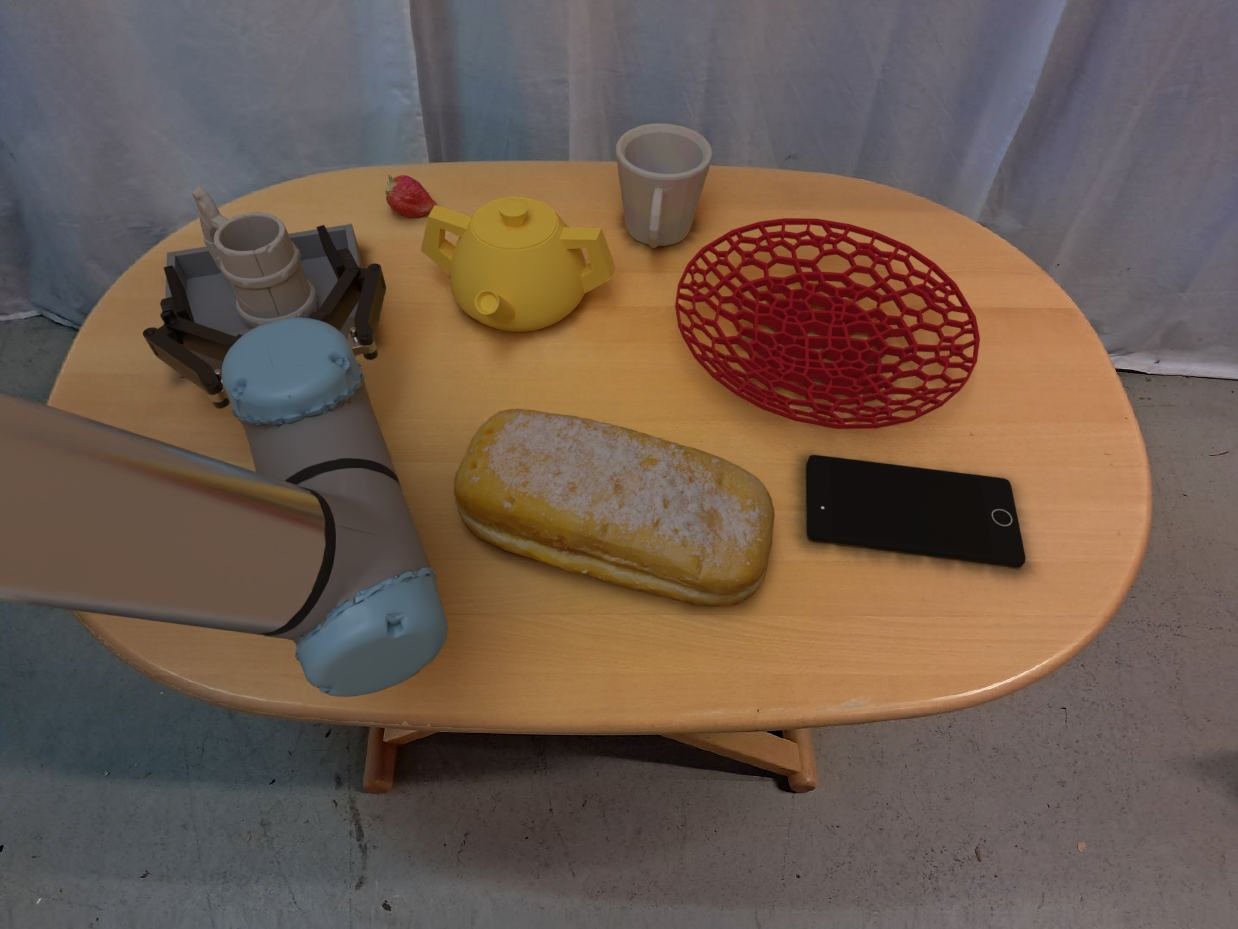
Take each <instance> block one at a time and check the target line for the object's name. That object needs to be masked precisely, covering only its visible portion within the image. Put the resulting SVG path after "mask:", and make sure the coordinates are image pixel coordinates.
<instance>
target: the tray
mask: <svg viewBox="0 0 1238 929" xmlns="http://www.w3.org/2000/svg"><path fill="white" fill-rule="evenodd" d="M326 229H327V231H328V233H329V236H330V238H331V240H332V242H333V244H334V246H335V248H336V250H341V249H345V248H347V249H348V250H350V252H351V254H352V256H353V258H354V260H355V262H356V264H357V266H359V267H360V268H363V261H362V257H361V250H360V248H359V243H358V241H357V237H356V233H355V230H354V226H353V224H352V223H348V224H347V223H346V224H341V225H335V226H334V225H333V226H328V227H326ZM288 235H289V237H290V239H291V241H292V242H293V243H294V244H295V245H296V247H297V248H298V250H299V252H300V254H301V257H300V264H301V266H302V269H303V271H304V274H305V276H306V278H307V279H308V280H309V281H310V282H311V283H312V284H313V286H314V288H315V289H316V292H317V302H316V304H317V311H318V310H319V308H320V307H321V305H322V304H323V302H324V301H325V299H326V298H327V296H328V295H329V293H330V292H331V290H332V289H333V287H334V286H335V284H336V283H337V281H338V279H337V277H336V275H335V273H334V271H333V269H332V266H331V264H330V262H329V260H328V258H327V256H326V254H325V252H324V249H323V246H322V243H321V240H320V237H319V234H318V231H317V228H316V229H309V230H303V231H297V232H296V231H295V232H288ZM171 265H173V267H174V269H175V271H176V273H177V275H178V277H179V279H180V281H181V283H182V285H183V287H184V289H185V292H186V295H187V298H188V302H189V305H190V308H191V312H192V315H193V318H194V322H195V323H198V324H201V325H203V326H206V327H209V328H212V329H215V330H218V331H221V332H224V333H227V334H230V335H233V336H237V335H238V334H240V335H244V334H246V333H247V332H249V331H251V330H253V329H254V328H253V329H250V327H249V326H248V325H247V323H245V322H244V321H243V320H242V319H241V317H240V316H239V314H238V312H237V310H236V307H235V305H236V296H235V293H234V291H233V289H232V287H231V284H230V282H229V280H227V279H226V277H225V276H224V275H223V274H222V272H221V271H220V270H219V268H218V267H217V265H216V263H215V261H214V260H213V258H212V256H211V254H210V253H209V251H208V249H207V247H206V246H199V247H194V248H193V247H192V248H187V249H181V250H174V251H168V252H166V267H167V266H171ZM169 297H172V295H171V292H170V288H169V285H168V281H167V278H166V277H165V297H164V299H165V298H169ZM358 302H359V301H358ZM357 306H358V303H357V304H356V306H355V307H354V309H353V311H352V312H351V314H350V315H349V317H348V318H347V320H346V322H345V323H344V325H343V326H342V328H341V330H340V332H341V333H342V334H343V335H344V336H345V337H346V339H347V338H348V334H349V333H350V328H351V327H355V324H354V319H355V314H356V310H357ZM317 311H316V312H317ZM374 341H375V342H377V337H376V335H375V339H374ZM188 350H189V349H188ZM189 351H191V350H189ZM191 352H192V353H193V354H195V355H196V356H198V357H199V358H201V359H202V360H204V361H205V362H206V363H208V364H209V365H210V366H211V367H212V369H213V370H216V369H220V370H221V371H222V365H223V361H220V360H217V359H214V358H211V357H208V356H206V355H203V354H200V353H197V352H194V351H191ZM175 372H176V373H177V375H178V377H179V378H185V377H184V376H183V375H181V374H180V373H179V372H177V371H176V370H175Z"/></svg>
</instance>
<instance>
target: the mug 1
mask: <svg viewBox="0 0 1238 929" xmlns="http://www.w3.org/2000/svg"><path fill="white" fill-rule="evenodd" d="M191 195H192V198H193V199H194V202H195V204H196V207H197V212H198V217H199V224H200V227H201V231H202V235H203V237H204V238H203V242H204V244H205V247H207V249H208V251H209V253H210V254H211V256H212V258H213V260H214V261H215V263H216V265H217V267H218V268H219V270H220V271H221V272H222V274H223V275H224V276H225V277H226V279H227V280H229V282H230V284H231V287H232V289H233V291H234V293H235V296H236V305H235V307H236V310H237V312H238V314H239V316H240V317H241V319H242V320H243V321H244V322H245V323H247V325H248V326H249V327H250V329H253V328H256V327H258V326H260V325H263V324H265V323H267V324H271V323H272V322H274V321H281V320H282V319H285V318H298V317H299V318H309V316H310V315H311V313H312V312H316V311H317V304H316V302H317V292H316V289H315V288H314V286H313V284H312V283H311V282H310V281H309V280H308V279H307V278H306V276H305V274H304V271H303V269H302V266H301V264H300V257H301V254H300V252H299V250H298V248H297V247H296V245H295V244H294V243H293V242H292V241H291V239H290V237H289V235H288V234H289V232H288V230H287V227H286V225H285V223H284V222H283V220H281V219H280V218H278V217H277V216H276V215H274V214H271V213H268V212H260V211H259V212H257V211H256V212H255V211H254V212H247V213H246V214H244V213H241V214H238V215H234V216H232V217H230V218H228V217H226V216H224V215H223V214H221V212H220V210H219V208H218V207H217V205H216V203H215V201H214V199H213V198H212V196H211V195H210V193H209V192H208V191H207V190H206V189H205V188H204V187H203V186H201V185H200V186H198V187H196V188H195V189H193V190H192V191H191Z"/></svg>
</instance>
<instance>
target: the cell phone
mask: <svg viewBox="0 0 1238 929" xmlns="http://www.w3.org/2000/svg"><path fill="white" fill-rule="evenodd" d="M805 464H806V465H805V474H806V475H805V476H806V477H805V478H806V479H805V480H806V483H805V484H806V485H805V486H806V487H805V488H806V491H805V492H806V495H805V496H806V535H807V539H808V540H810V542H811V541H812V542H817V543H827V544H835V545H842V546H843V545H844V546H850V547H859V548H866V549H874V550H882V551H890V552H896V553H904V554H912V555H918V556H919V555H920V556H927V557H935V558H942V559H943V558H944V559H949V560H950V559H951V560H958V561H967V562H972V563H980V564H988V565H996V566H1004V567H1010V568H1011V567H1012V568H1015V569H1020V568H1022V567H1023V566H1024V564H1025V563H1026V552H1025V547H1024V543H1023V537H1022V533H1021V527H1020V522H1019V517H1018V513H1017V508H1016V501H1015V498H1014V492H1013V487H1012V484H1011V481H1010V480H1009V479H1007V478H1004V477H998V476H989V475H982V474H975V473H965V472H959V471H949V470H941V469H933V468H925V467H919V466H918V467H917V466H909V465H902V464H893V463H886V462H885V463H884V462H879V461H868V460H862V459H861V460H860V459H855V458H854V459H852V458H846V457H836V456H829V455H819V454H818V455H817V454H810V455H809V456H808V458H807V461H806V463H805Z"/></svg>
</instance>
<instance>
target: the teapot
mask: <svg viewBox="0 0 1238 929" xmlns="http://www.w3.org/2000/svg"><path fill="white" fill-rule="evenodd" d="M446 232H448V233H451V234H453V235H455V236H458V240H457V241H456V243H455V245H454V244H453V243H451V241H448V240H447V239H446ZM583 249H586V253H587V256H588V260H589V262H588V263H586V259H585V255H584V252H583ZM420 252H422V253H423V254H424V255H425V256H426V257H427V258H429V259H430V260H431V261H432V262H433V263H435V264H436V265H437V266H438V267H439V268H441V269H442V270H443V271H445V272H446V274H448V275H449V282H450V289H451V294H452V296H453V298H454V300H455V302H456V303H457V305H458V306H459V308H460V309H461V310H462V311H463V312H464V313H465V314H467V315H468V316H469V317H471V318H472V319H473V320H475V321H477V322H479V323H481V324H483V325H485V326H487V327H490V328H493V329H496V330H499V331H504V332H510V333H511V332H512V333H524V332H526V333H527V332H535V331H539V330H543V329H545V328H548V327H551V326H552V325H554V324H556V323H558V322H560V321H561V320H563V319H564V318H566V317H567V316H568V315H569V314H571V312H573V311H574V310H575V309H576V308H577V307H578V306H579V304H580V303H581V301H582V300H583V298H584V295H585V294H586V293H589V292H590V291H592V290H594V289H595V288H597V287H599V286H600V285H603V284H604V283H606V282H608V281H610V280H611V279H612V278H613V274H614V271H615V269H616V264H615V262H614V258H613V256H612V253H611V250H610V248H609V245H608V242H607V239H606V236H605V234H604V231H603V228H602V227H580V226H579V227H576V226H575V227H571V226H568V225H567V223H566V222H565V221H564V220H563V218H562V217H561V216H560V215H559V214H558V213H557V212H556V211H555V209H553V208H552V207H551V206H549V205H548V204H546V203H545V202H542V201H540V200H539V199H538V200H537V199H535V198H530V197H526V196H506V197H501V198H496V199H494V200H491V201H489V202H487V203H485V204H484V205H482V206H480V207H479V208H478V209H477V210H476V211H475V212H474V214H473V215H472V216H470V215H467V214H464V213H461V212H458V211H455V210H452V209H449V208H447V207H443V206H440V205H438V204H437V205H435V206H434V207H433V209H432V211H431V212H430V213H428V215H427V218H426V224H425V229H424V234H423V238H422V244H421V248H420Z"/></svg>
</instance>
